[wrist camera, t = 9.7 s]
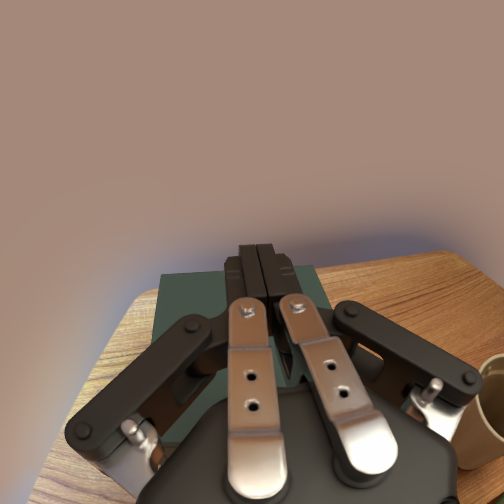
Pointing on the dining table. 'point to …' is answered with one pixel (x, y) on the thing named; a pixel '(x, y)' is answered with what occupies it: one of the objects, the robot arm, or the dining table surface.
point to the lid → (210, 305)
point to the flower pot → (483, 420)
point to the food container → (498, 499)
